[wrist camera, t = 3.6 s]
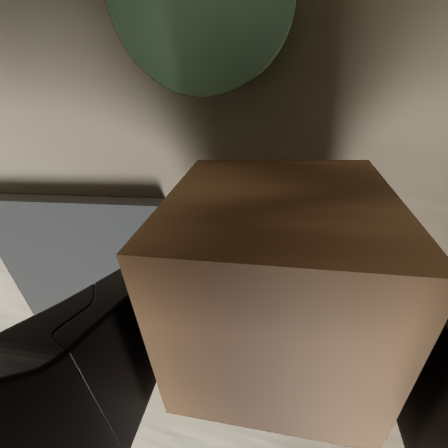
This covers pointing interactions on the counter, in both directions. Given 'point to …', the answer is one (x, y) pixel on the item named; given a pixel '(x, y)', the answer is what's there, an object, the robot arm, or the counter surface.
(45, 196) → the slate board
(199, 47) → the mint green dome
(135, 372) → the robot arm
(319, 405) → the tan block
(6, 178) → the counter surface
